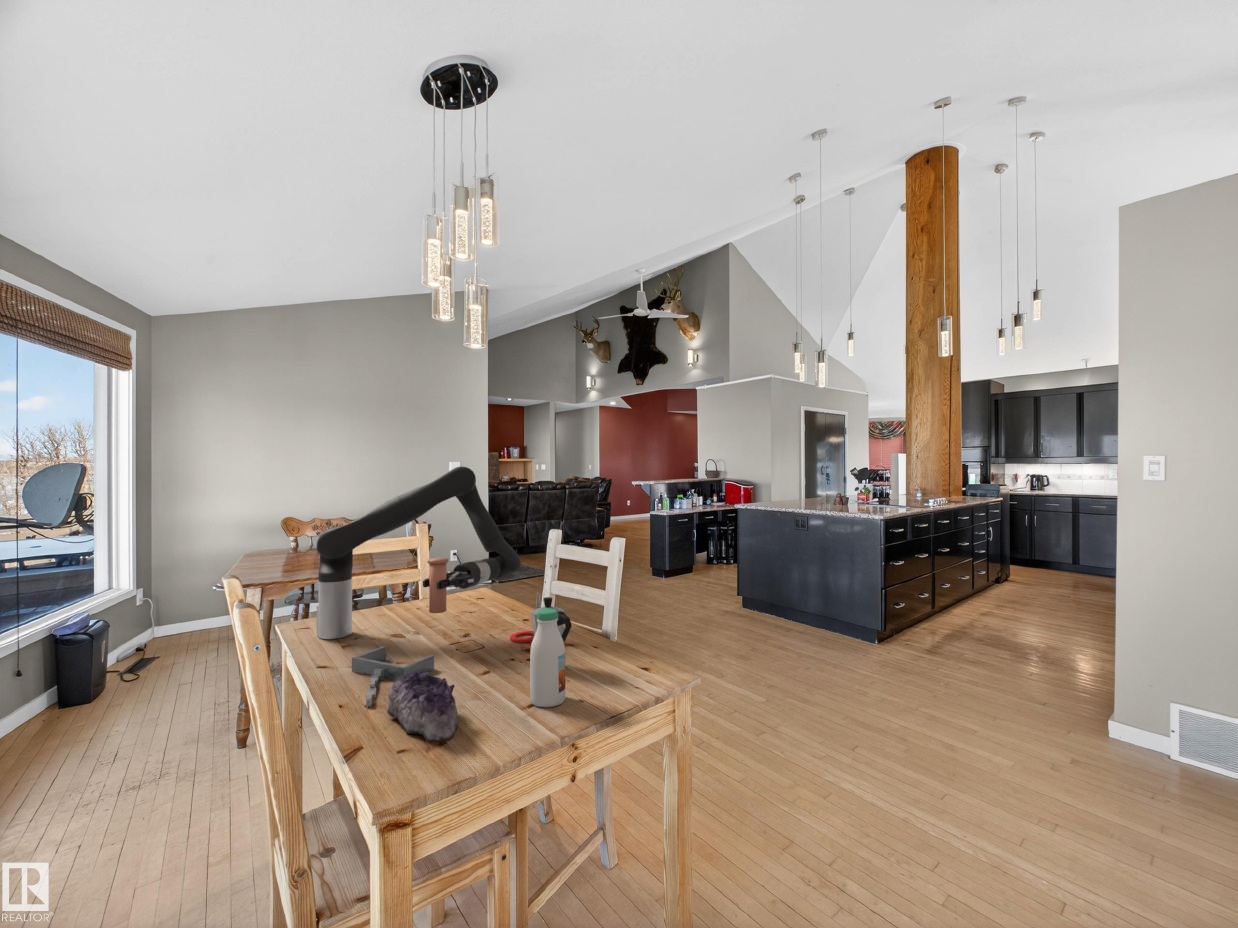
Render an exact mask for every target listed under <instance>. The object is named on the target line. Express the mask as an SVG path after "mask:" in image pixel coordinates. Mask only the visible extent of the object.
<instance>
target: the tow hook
mask: <svg viewBox="0 0 1238 928" xmlns="http://www.w3.org/2000/svg"><path fill="white" fill-rule="evenodd" d="M535 604H536V609H538V608H542V605H541V604H542V601H541V597H540V592H536V603H535ZM522 636H529V637H525V638H524V637H523V638H522ZM530 636H531V637H530ZM519 637H520V638H519ZM533 638H534V631H533V630H525V631H517V632H515V633H512V634H511V635H510V636H509V640H510V641H511V642H513V643H521V644H522V643H529V642H532V641H533Z"/></svg>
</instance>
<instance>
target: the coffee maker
mask: <svg viewBox="0 0 1238 928" xmlns="http://www.w3.org/2000/svg"><path fill="white" fill-rule="evenodd" d="M542 599H543V604H544V606H541V608H538V609H537V608H536V609H532V611H530V615H531V616H530V617H531V622H532V628H533V629H532V631H534V635H533V636H535V634H536V631H537V628H538V621H537V612H538V611H539V610H541V609H556V610H557V611H558V621H557V626H558V630H559V632H560V634H561V637H562V639H563V642H564V643H565V642H566V639H567V637H568V635H569V633H570V631H571V629H572V627H573V625H572V621H571V619H570V617H569V616H568V615H567V614H566V611H565V610H564V609H563V608H560V607H555V606H552V602H553V597H552V596H551V597H549V596H547V597H543V598H542Z"/></svg>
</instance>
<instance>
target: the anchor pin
mask: <svg viewBox="0 0 1238 928" xmlns="http://www.w3.org/2000/svg"><path fill="white" fill-rule="evenodd" d="M426 562H427V564H428V573H429V574H428V578H429V587H428V588H429V589H428V590H429V591H428V592H429V593H428V599H429V600H428V603H429V604H428V605H429V606H428V612H429V613H431V614H443V613H446V611H447V587H446V588H443V589H437V581H440V580H444V579H446V572H447V566H448V565H447V563H449V558H448V557H433V558H432V557H431V558H428V559H427V561H426Z"/></svg>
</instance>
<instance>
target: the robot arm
mask: <svg viewBox="0 0 1238 928" xmlns="http://www.w3.org/2000/svg"><path fill="white" fill-rule="evenodd" d="M476 482H477V479H476V474H475V472H474V471H473V470H472V469H470V467H467V466H457V467H454V468H452V469H451V470H449V471H447V472H446V473H444V474H443V475H441V476H439V477H437V478H436V479H434V480H433V481H431V482H429V483H426V484H424V485H421V486H418V487H416V488H414V489H411V490H409V491H407V492H404V493H402V494H400V495H396V497H393V498H390V499H389V500H386V501H385V502H384V503H381V504H380V505H378V506H377V507H375V508H373V509H372V510H370V511H369V512H367V513H366V514H364V515H363V516H361V517H359V518H357V519H355V520H353V521H350V522H348V523H345V524H343V525H341V526H340V525H339V526H334V527H333V526H332V527H329V528H328V529H326V530H325V531H323V532H322V533H321V534H320V535H319V536H318V538H317V541H316V550H317V552H318V555H319V567H318V573H317V575H318V603H317V604H316V636H317V637H318V638H319V639H322V640H335V639H341V638H345V637H348V636H350V635H351V634H352V633H353V578H352V576H353V565H354V564H353V560H354V559H353V558H354V549H356V548H357V547H360V545H363V544H364V543H366V542H368V541H370V540H372V539H374V538H376V537H377V538H378V537H380V536H382V535H385V534H387V533H389V532H392V531H395V530H396V529H399V528H402V527H403V526H406V525H407V524H409V523H411V522H413V521H415V520H417V519H418V518H420V517H422V516H423V515H425V514H426V513H427V512H429V511H430V510H431V509H433V508H434V507H436V506H437V505H439V504H440V503H442V502H446V501H447V500H449V499H452V498H456V499H457V500H458V501H459V502H460V503H459V504H460V505H462V507H463V509H464V510H465V513H466V514H467V516H468V518H469V520H470V523H471V525H472V527H473V529H474V531H475V533H476V535H477V537H478V539H479V541H480V543H481V545H482V547H483V549H484V550H485V552H487V553H492V552H496V553H497V554H498V555H499V556H497V557H494V558H493V557H492V558H491V557H487V558H483V559H477V560H475V559H474V560H471V561H465V562H462V563H459V564H457V565H455V567H454V569H453V570H447V571H446V579H444V580H440V581H437V589H443V588H446V589H447V588H456V589H458V588H459V589H461V590H463V589H464V590H465V589H468V588H472V587H475V586H479V585H482V584H483V583H486V582H489V581H492V580H493V581H496V580H501V579H503V578H506V577H507V576H509V575H512V574H513V573H515V572H517V571H519V569H520V568H521V565H522V564H521V563H522V562H521V558H520V556H519V554H518V553H517V551H516V550H515V549H513V547H512V546H511V545H510V544H509V543H508V541H506V540H505V538H504V537H503V535H502V532H501V530H500V529H499V527H498V525H497V524H496V522H495V520H494V519H493V517H492V515H491V514H490V512H489V511H488V509H487V508H486V506H485V505H484V503H483V500H482V499H481V496H480V494H479V493H480V492H479V491H478V488H477V483H476ZM422 588H429V577H428V578H423V580H422Z"/></svg>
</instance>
